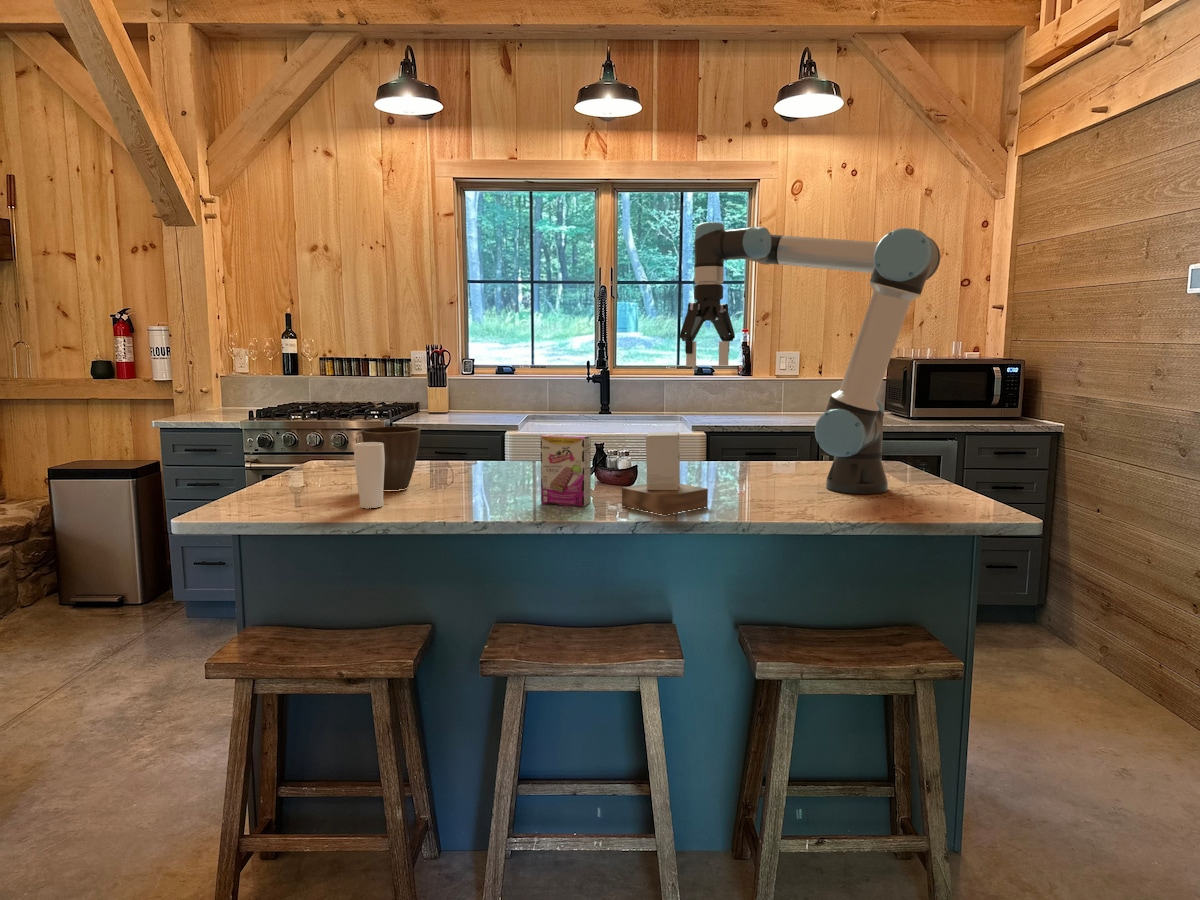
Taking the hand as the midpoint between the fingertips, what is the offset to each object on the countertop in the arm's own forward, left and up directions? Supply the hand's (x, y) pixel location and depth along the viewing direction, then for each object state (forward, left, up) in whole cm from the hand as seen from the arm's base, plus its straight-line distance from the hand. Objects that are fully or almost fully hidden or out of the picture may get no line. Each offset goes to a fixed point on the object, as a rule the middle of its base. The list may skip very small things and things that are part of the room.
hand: (707, 366), depth 207 cm
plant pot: (+53, +64, -32) cm, 89 cm away
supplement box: (-12, +30, -27) cm, 42 cm away
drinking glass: (+36, +79, -32) cm, 92 cm away
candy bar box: (+7, +44, -32) cm, 55 cm away
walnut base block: (-12, +30, -32) cm, 46 cm away
